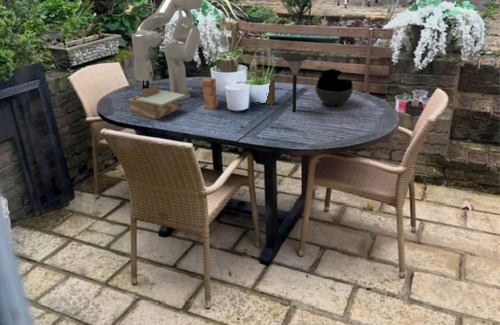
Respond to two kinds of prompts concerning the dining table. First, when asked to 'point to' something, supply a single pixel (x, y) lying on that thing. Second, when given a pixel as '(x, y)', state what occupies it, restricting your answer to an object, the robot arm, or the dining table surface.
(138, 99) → the lid
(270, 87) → the wooden block
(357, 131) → the dining table surface
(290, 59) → the solar garden light
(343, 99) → the bowl of black rocks
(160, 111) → the toolbox
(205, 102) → the key post
